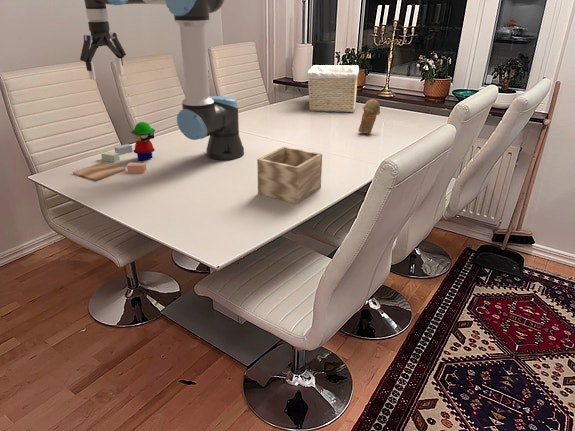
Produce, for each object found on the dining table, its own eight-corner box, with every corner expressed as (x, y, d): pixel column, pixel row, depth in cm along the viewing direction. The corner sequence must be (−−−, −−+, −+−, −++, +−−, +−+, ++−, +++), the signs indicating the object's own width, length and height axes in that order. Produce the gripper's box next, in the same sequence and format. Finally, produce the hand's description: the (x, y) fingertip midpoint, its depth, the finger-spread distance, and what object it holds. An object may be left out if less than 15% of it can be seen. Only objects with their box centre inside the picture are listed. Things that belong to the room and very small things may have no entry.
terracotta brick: (146, 170, 177) (145, 163, 176) (144, 173, 174) (143, 165, 173) (130, 170, 177) (129, 162, 176) (128, 173, 175) (126, 165, 173)
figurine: (357, 134, 220) (359, 101, 214) (361, 129, 227) (364, 98, 220) (375, 136, 217) (378, 103, 211) (379, 131, 224) (382, 99, 218)
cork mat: (125, 170, 177) (125, 168, 177) (96, 181, 167) (96, 179, 167) (102, 163, 183) (102, 162, 183) (73, 174, 173) (72, 172, 173)
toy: (154, 154, 193) (149, 117, 187) (161, 160, 187) (157, 122, 180) (132, 158, 189) (126, 121, 182) (139, 164, 182) (133, 126, 176)
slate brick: (129, 150, 198) (128, 143, 197) (132, 152, 196) (131, 145, 195) (115, 153, 194) (114, 146, 193) (118, 155, 192) (117, 148, 191)
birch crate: (320, 187, 163) (322, 153, 158) (296, 203, 151) (297, 168, 145) (283, 178, 170) (283, 146, 165) (258, 193, 158) (257, 159, 152)
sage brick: (120, 160, 187) (118, 153, 186) (114, 162, 184) (113, 155, 183) (107, 158, 189) (106, 151, 188) (102, 160, 186) (101, 153, 185)
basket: (305, 111, 259) (306, 70, 249) (311, 101, 282) (312, 63, 273) (355, 114, 255) (358, 72, 245) (357, 103, 278) (359, 64, 269)
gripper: (117, 18, 197) (124, 71, 206) (63, 22, 178) (74, 80, 187) (129, 19, 193) (137, 73, 202) (76, 23, 174) (86, 82, 183)
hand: (106, 76), depth 195 cm, fingers open, 13 cm apart
